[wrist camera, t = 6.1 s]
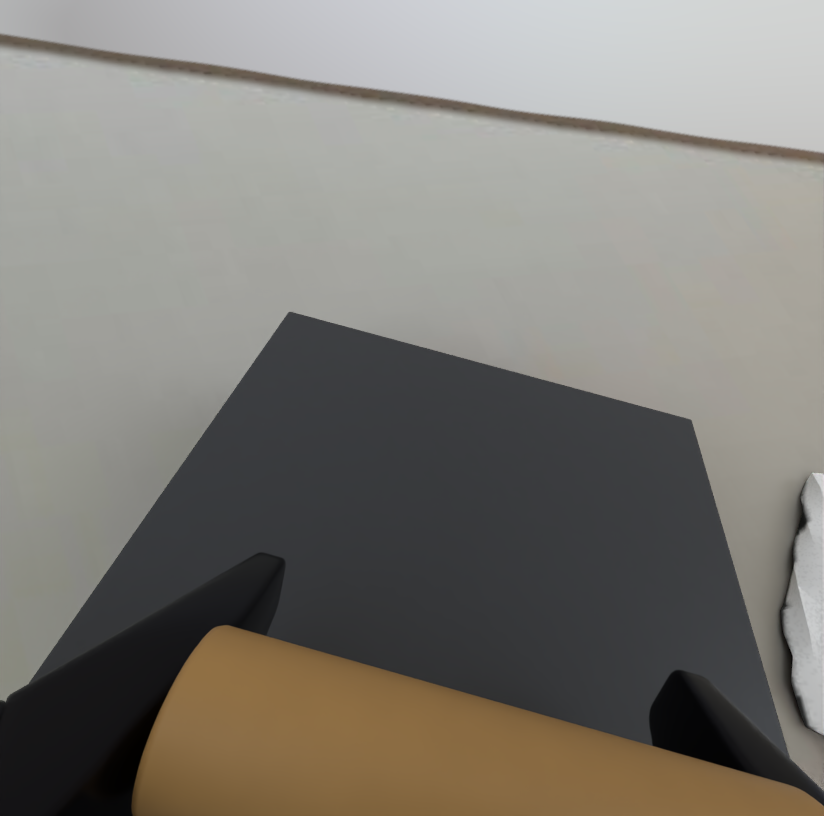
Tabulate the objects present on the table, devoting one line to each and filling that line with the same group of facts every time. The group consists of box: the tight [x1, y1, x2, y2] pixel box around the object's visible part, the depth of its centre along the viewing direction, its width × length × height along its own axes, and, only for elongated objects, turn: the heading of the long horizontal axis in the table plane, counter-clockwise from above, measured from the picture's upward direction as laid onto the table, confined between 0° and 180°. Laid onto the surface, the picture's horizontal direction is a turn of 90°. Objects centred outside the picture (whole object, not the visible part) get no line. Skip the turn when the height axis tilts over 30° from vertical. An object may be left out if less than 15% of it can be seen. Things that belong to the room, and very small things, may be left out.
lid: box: [29, 312, 824, 816], centre depth 9 cm, size 13×13×5 cm
